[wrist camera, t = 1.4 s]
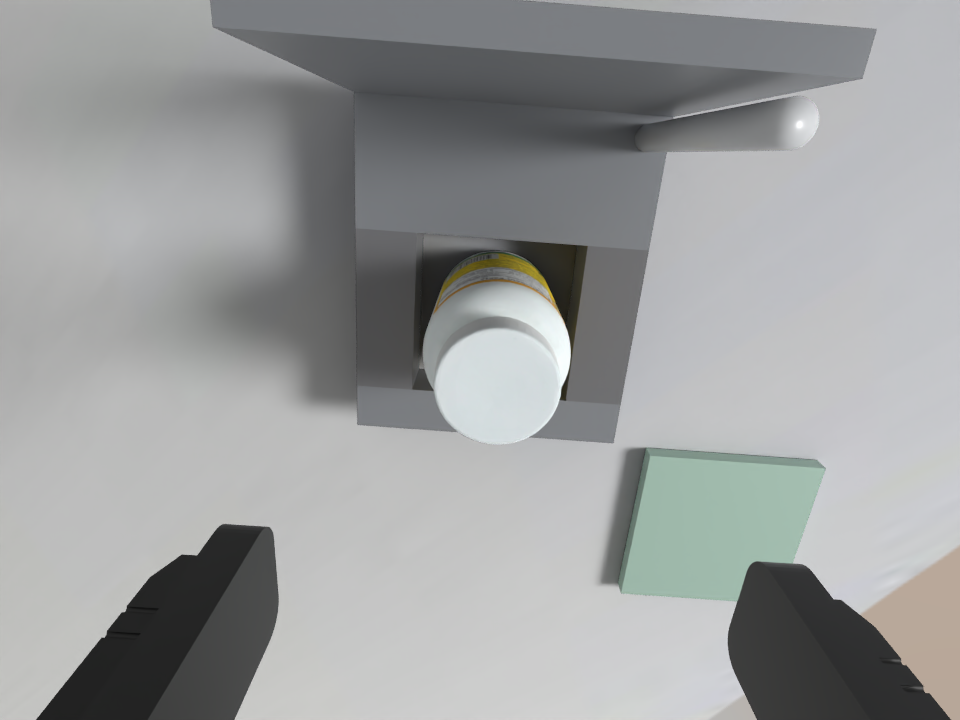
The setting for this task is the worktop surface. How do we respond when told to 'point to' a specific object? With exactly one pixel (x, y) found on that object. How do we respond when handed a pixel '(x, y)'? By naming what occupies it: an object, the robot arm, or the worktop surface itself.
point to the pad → (713, 521)
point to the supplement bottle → (496, 349)
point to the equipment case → (533, 152)
